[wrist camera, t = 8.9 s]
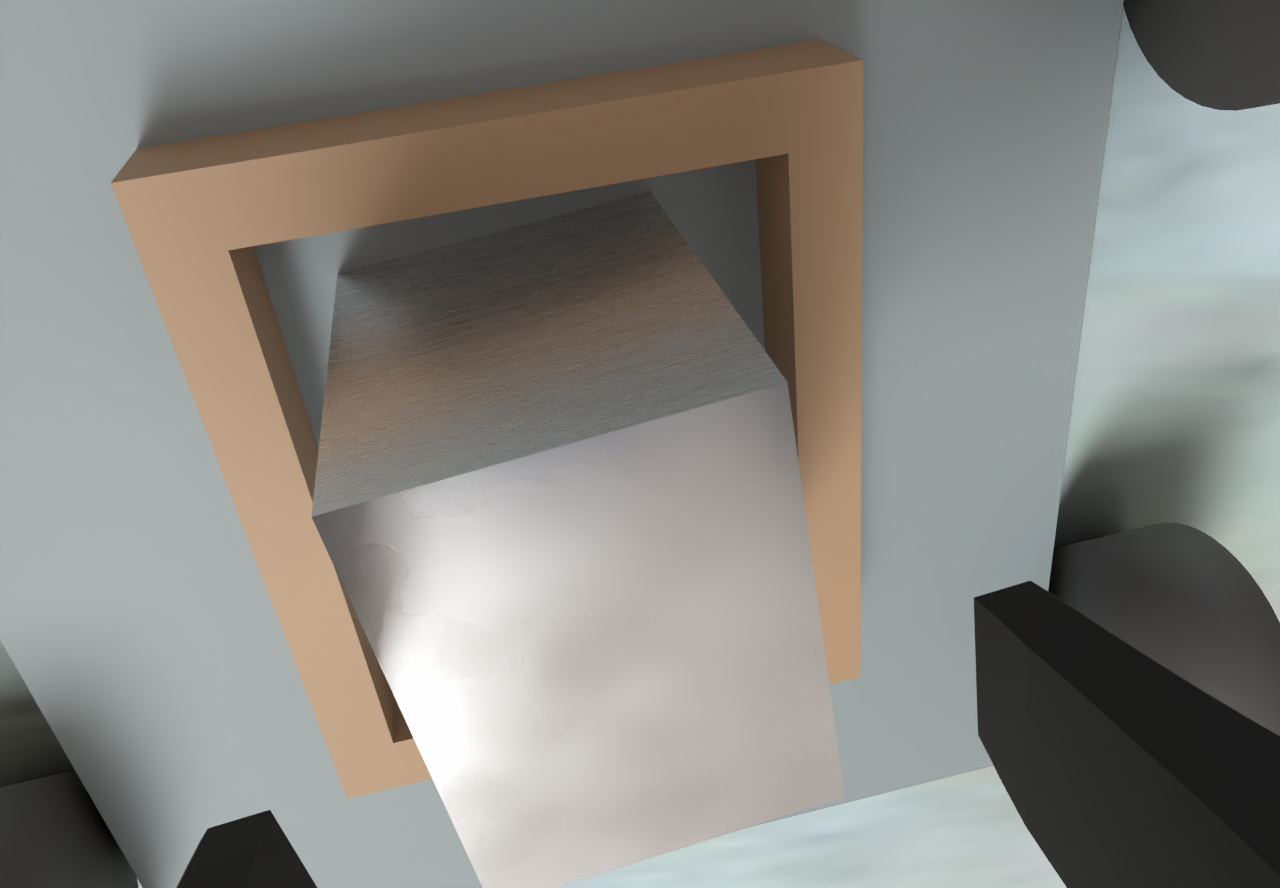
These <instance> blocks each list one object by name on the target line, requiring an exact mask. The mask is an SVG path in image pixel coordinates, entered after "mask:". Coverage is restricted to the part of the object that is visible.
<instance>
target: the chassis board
mask: <svg viewBox="0 0 1280 888" xmlns="http://www.w3.org/2000/svg"><path fill="white" fill-rule="evenodd" d="M1123 6H1124V9H1125V12H1126V15H1127V18H1128V21H1129V25H1130V27H1131V30H1132V32H1133V34H1134V36H1135V39H1136V41H1137V43H1138V45H1139V47H1140V49H1141V51H1142V52H1143V54H1144V56H1145V57H1146V59H1147V61H1148V62H1149V64H1150V65H1151V66H1152V68H1153V69H1154V70H1155V71H1156V73H1157V74H1158V75H1159V77H1160V78H1161V79H1163V80H1164V81H1165V82H1166V83H1167V84H1168V85H1169V86H1170V87H1171V88H1172V89H1173V90H1175V91H1176V92H1177V93H1179V94H1180V95H1182V96H1183V97H1185V98H1186V99H1188V100H1190V101H1193V102H1195V103H1197V104H1199V105H1201V106H1205V107H1210V108H1214V109H1218V110H1242V109H1249V108H1255V107H1261V106H1266V105H1272V104H1278V103H1280V0H0V641H1V643H2V645H3V646H4V648H5V650H6V651H7V653H8V655H9V657H10V658H11V660H12V662H13V664H14V665H15V667H16V669H17V670H18V672H19V674H20V676H21V677H22V679H23V681H24V683H25V684H26V686H27V688H28V690H29V691H30V693H31V695H32V696H33V698H34V700H35V702H36V703H37V705H38V707H39V709H40V710H41V712H42V714H43V715H44V717H45V719H46V721H47V722H48V724H49V726H50V728H51V729H52V731H53V733H54V734H55V736H56V738H57V740H58V741H59V743H60V745H61V747H62V748H63V750H64V752H65V754H66V755H67V757H68V759H69V760H70V762H71V764H72V766H73V767H74V769H75V771H76V773H75V772H64V773H60V774H56V775H51V776H47V777H42V778H38V779H34V780H29V781H25V782H20V783H16V784H12V785H7V786H3V787H0V888H138V882H137V878H138V880H139V882H140V883H141V885H142V887H143V888H176V887H177V885H178V883H179V881H180V879H181V877H182V875H183V873H184V871H185V869H186V867H187V865H188V863H189V862H190V860H191V858H192V856H193V854H194V852H195V850H196V848H197V846H198V844H199V842H200V840H201V839H202V837H203V835H204V834H205V832H206V830H207V829H208V828H211V827H214V826H217V825H221V824H224V823H227V822H231V821H234V820H237V819H241V818H244V817H247V816H251V815H254V814H257V813H261V812H264V811H267V810H270V811H271V812H272V814H273V815H274V817H275V819H276V820H277V822H278V824H279V825H280V827H281V829H282V830H283V832H284V834H285V835H286V837H287V838H288V840H289V842H290V843H291V845H292V847H293V848H294V850H295V852H296V853H297V855H298V857H299V858H300V860H301V861H302V863H303V865H304V866H305V868H306V870H307V871H308V873H309V875H310V876H311V878H312V880H313V881H314V883H315V884H316V886H317V888H482V885H481V883H480V881H479V879H478V877H477V875H476V872H475V870H474V868H473V866H472V864H471V862H470V859H469V857H468V855H467V853H466V851H465V849H464V846H463V844H462V842H461V840H460V838H459V836H458V833H457V831H456V829H455V827H454V825H453V823H452V820H451V818H450V816H449V814H448V812H447V810H446V807H445V805H444V803H443V801H442V799H441V797H440V794H439V792H438V790H437V788H436V786H435V784H434V781H433V779H432V777H431V775H430V773H429V771H428V768H427V766H426V764H425V762H424V760H423V758H422V755H421V753H420V751H419V749H418V747H417V745H416V742H415V740H414V738H413V736H412V734H411V732H410V729H409V727H408V725H407V723H406V721H405V719H404V716H403V714H402V712H401V710H400V708H399V706H398V703H397V701H396V699H395V697H394V695H393V693H392V690H391V688H390V686H389V684H388V682H387V680H386V677H385V675H384V673H383V671H382V669H381V667H380V664H379V662H378V660H377V658H376V656H375V654H374V651H373V649H372V647H371V645H370V643H369V641H368V638H367V636H366V634H365V632H364V630H363V628H362V625H361V623H360V621H359V619H358V617H357V615H356V612H355V610H354V608H353V606H352V604H351V602H350V599H349V597H348V595H347V593H346V591H345V589H344V586H343V584H342V582H341V580H340V578H339V576H338V573H337V571H336V569H335V567H334V565H333V563H332V560H331V558H330V556H329V554H328V552H327V550H326V547H325V545H324V543H323V541H322V539H321V537H320V534H319V532H318V530H317V528H316V526H315V524H314V521H313V519H312V517H311V516H312V507H313V497H314V488H315V479H316V469H317V460H318V450H319V441H320V432H321V422H322V413H323V404H324V394H325V385H326V376H327V366H328V357H329V348H330V338H331V329H332V320H333V310H334V301H335V292H336V282H337V274H340V273H344V272H347V271H351V270H355V269H359V268H362V267H366V266H370V265H374V264H377V263H381V262H385V261H389V260H392V259H396V258H400V257H404V256H407V255H411V254H415V253H419V252H422V251H426V250H430V249H434V248H437V247H441V246H445V245H449V244H453V243H456V242H460V241H464V240H468V239H471V238H475V237H479V236H483V235H486V234H490V233H494V232H498V231H501V230H505V229H509V228H513V227H516V226H520V225H524V224H528V223H531V222H535V221H539V220H543V219H546V218H550V217H554V216H558V215H561V214H565V213H569V212H573V211H576V210H580V209H584V208H588V207H591V206H595V205H599V204H603V203H606V202H610V201H614V200H618V199H621V198H625V197H629V196H633V195H636V194H640V193H644V192H648V191H650V192H651V193H652V195H653V196H654V197H655V199H656V200H657V202H658V203H659V204H660V206H661V207H662V208H663V210H664V211H665V213H666V214H667V215H668V217H669V218H670V220H671V221H672V222H673V224H674V225H675V227H676V228H677V229H678V231H679V232H680V233H681V235H682V236H683V238H684V239H685V240H686V242H687V243H688V245H689V246H690V247H691V249H692V250H693V252H694V253H695V254H696V256H697V257H698V258H699V260H700V261H701V263H702V264H703V265H704V267H705V268H706V270H707V271H708V272H709V274H710V275H711V277H712V278H713V279H714V281H715V282H716V283H717V285H718V286H719V288H720V289H721V290H722V292H723V293H724V295H725V296H726V297H727V299H728V300H729V302H730V303H731V304H732V306H733V307H734V308H735V310H736V311H737V313H738V314H739V315H740V317H741V318H742V320H743V321H744V322H745V324H746V325H747V327H748V328H749V329H750V331H751V332H752V333H753V335H754V336H755V338H756V339H757V340H758V342H759V343H760V345H761V346H762V347H763V349H764V350H765V352H766V353H767V354H768V356H769V357H770V358H771V360H772V361H773V363H774V364H775V365H776V367H777V368H778V370H779V371H780V372H781V374H782V375H783V377H784V378H785V379H786V381H787V382H788V389H789V396H790V404H791V411H792V418H793V425H794V433H795V440H796V447H797V454H798V461H799V469H800V476H801V483H802V490H803V498H804V505H805V512H806V519H807V526H808V534H809V541H810V548H811V555H812V563H813V570H814V577H815V584H816V591H817V599H818V606H819V613H820V620H821V628H822V635H823V642H824V649H825V656H826V664H827V671H828V678H829V685H830V693H831V700H832V707H833V714H834V721H835V729H836V736H837V743H838V750H839V758H840V765H841V772H842V779H843V786H844V794H845V797H843V798H839V799H836V800H833V801H830V802H827V803H823V804H820V805H817V806H814V807H811V808H808V809H804V810H801V811H798V812H795V813H792V814H788V815H785V816H782V817H779V818H776V819H772V820H769V821H766V822H763V823H760V824H764V823H768V822H772V821H776V820H780V819H784V818H788V817H792V816H796V815H800V814H804V813H807V812H811V811H815V810H819V809H823V808H827V807H831V806H835V805H839V804H843V803H847V802H851V801H855V800H859V799H863V798H867V797H871V796H875V795H879V794H883V793H887V792H891V791H895V790H899V789H903V788H907V787H911V786H915V785H919V784H923V783H926V782H930V781H934V780H938V779H942V778H946V777H950V776H954V775H958V774H962V773H966V772H970V771H974V770H978V769H982V768H986V767H990V766H994V765H993V763H992V761H991V759H990V757H989V755H988V753H987V751H986V749H985V747H984V745H983V744H982V742H981V740H980V738H979V736H978V718H977V686H976V655H975V623H974V597H977V596H981V595H984V594H987V593H991V592H994V591H997V590H1001V589H1004V588H1007V587H1011V586H1014V585H1017V584H1020V583H1024V582H1027V581H1032V582H1034V583H1035V584H1037V585H1039V586H1040V587H1042V588H1043V589H1045V590H1047V591H1048V592H1050V593H1051V594H1053V595H1054V596H1056V597H1057V598H1059V599H1061V600H1062V601H1064V602H1065V603H1067V604H1068V605H1070V606H1071V607H1073V608H1074V609H1076V610H1077V611H1079V612H1080V613H1082V614H1084V615H1085V616H1087V617H1088V618H1090V619H1091V620H1093V621H1094V622H1096V623H1097V624H1099V625H1100V626H1102V627H1103V628H1105V629H1106V630H1108V631H1110V632H1111V633H1113V634H1114V635H1116V636H1117V637H1119V638H1120V639H1122V640H1123V641H1125V642H1127V643H1128V644H1130V645H1131V646H1133V647H1134V648H1136V649H1137V650H1139V651H1141V652H1142V653H1144V654H1145V655H1147V656H1148V657H1150V658H1152V659H1153V660H1155V661H1156V662H1158V663H1159V664H1161V665H1163V666H1164V667H1166V668H1167V669H1169V670H1171V671H1172V672H1174V673H1175V674H1177V675H1179V676H1180V677H1182V678H1183V679H1185V680H1187V681H1188V682H1190V683H1191V684H1193V685H1195V686H1196V687H1198V688H1200V689H1201V690H1203V691H1205V692H1206V693H1208V694H1210V695H1211V696H1213V697H1215V698H1216V699H1218V700H1220V701H1221V702H1223V703H1225V704H1226V705H1228V706H1230V707H1231V708H1233V709H1235V710H1236V711H1238V712H1240V713H1241V714H1243V715H1245V716H1246V717H1248V718H1250V719H1251V720H1253V721H1255V722H1256V723H1258V724H1260V725H1262V726H1263V727H1265V728H1267V729H1269V730H1270V731H1272V732H1274V733H1275V734H1277V735H1279V736H1280V622H1279V620H1278V619H1277V617H1276V615H1275V613H1274V611H1273V609H1272V607H1271V605H1270V603H1269V602H1268V600H1267V598H1266V597H1265V595H1264V593H1263V592H1262V590H1261V589H1260V587H1259V586H1258V585H1257V583H1256V582H1255V580H1254V579H1253V578H1252V576H1251V575H1250V573H1249V572H1248V571H1247V570H1246V569H1245V568H1244V567H1243V565H1242V564H1241V563H1240V562H1239V561H1238V560H1237V559H1236V558H1235V557H1234V556H1233V555H1232V554H1231V553H1230V552H1229V551H1228V550H1227V549H1226V548H1225V547H1223V546H1222V545H1221V544H1220V543H1218V542H1217V541H1216V540H1214V539H1213V538H1212V537H1210V536H1208V535H1207V534H1205V533H1203V532H1201V531H1200V530H1197V529H1195V528H1192V527H1190V526H1187V525H1183V524H1179V523H1162V524H1156V525H1152V526H1147V527H1143V528H1139V529H1134V530H1130V531H1125V532H1121V533H1117V534H1112V535H1108V536H1103V537H1099V538H1095V539H1090V540H1086V541H1081V542H1077V543H1073V544H1068V545H1064V546H1060V547H1058V548H1056V549H1054V542H1055V534H1056V526H1057V518H1058V510H1059V503H1060V495H1061V487H1062V479H1063V471H1064V464H1065V456H1066V448H1067V440H1068V432H1069V424H1070V417H1071V409H1072V401H1073V393H1074V385H1075V378H1076V370H1077V362H1078V354H1079V346H1080V339H1081V331H1082V323H1083V315H1084V307H1085V299H1086V292H1087V284H1088V276H1089V268H1090V260H1091V253H1092V245H1093V237H1094V229H1095V221H1096V213H1097V206H1098V198H1099V190H1100V182H1101V174H1102V167H1103V159H1104V151H1105V143H1106V135H1107V128H1108V120H1109V112H1110V104H1111V96H1112V88H1113V81H1114V73H1115V65H1116V57H1117V49H1118V42H1119V34H1120V26H1121V18H1122V10H1123ZM760 824H757V825H760ZM753 826H756V825H753ZM750 827H752V826H750ZM747 828H748V827H747ZM136 876H137V877H136Z"/></svg>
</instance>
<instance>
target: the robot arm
mask: <svg viewBox="0 0 1280 888" xmlns="http://www.w3.org/2000/svg"><path fill="white" fill-rule="evenodd" d="M974 623H975V655H976V686H977V718H978V736H979V738H980V740H981V742H982V744H983V745H984V747H985V749H986V751H987V753H988V755H989V757H990V759H991V761H992V763H993V765H994V767H995V769H996V771H997V773H998V775H999V777H1000V779H1001V781H1002V783H1003V785H1004V787H1005V788H1006V790H1007V792H1008V794H1009V796H1010V798H1011V800H1012V801H1013V803H1014V805H1015V807H1016V809H1017V811H1018V813H1019V814H1020V816H1021V818H1022V820H1023V822H1024V824H1025V826H1026V827H1027V829H1028V830H1029V832H1030V833H1031V835H1032V836H1033V838H1034V839H1035V841H1036V842H1037V844H1038V845H1039V847H1040V848H1041V850H1042V851H1043V853H1044V854H1045V856H1046V857H1047V859H1048V860H1049V862H1050V863H1051V865H1052V866H1053V868H1054V869H1055V871H1056V872H1057V873H1058V875H1059V876H1060V878H1061V879H1062V881H1063V882H1064V884H1065V885H1066V887H1067V888H1280V736H1279V735H1277V734H1275V733H1274V732H1272V731H1270V730H1269V729H1267V728H1265V727H1263V726H1262V725H1260V724H1258V723H1256V722H1255V721H1253V720H1251V719H1250V718H1248V717H1246V716H1245V715H1243V714H1241V713H1240V712H1238V711H1236V710H1235V709H1233V708H1231V707H1230V706H1228V705H1226V704H1225V703H1223V702H1221V701H1220V700H1218V699H1216V698H1215V697H1213V696H1211V695H1210V694H1208V693H1206V692H1205V691H1203V690H1201V689H1200V688H1198V687H1196V686H1195V685H1193V684H1191V683H1190V682H1188V681H1187V680H1185V679H1183V678H1182V677H1180V676H1179V675H1177V674H1175V673H1174V672H1172V671H1171V670H1169V669H1167V668H1166V667H1164V666H1163V665H1161V664H1159V663H1158V662H1156V661H1155V660H1153V659H1152V658H1150V657H1148V656H1147V655H1145V654H1144V653H1142V652H1141V651H1139V650H1137V649H1136V648H1134V647H1133V646H1131V645H1130V644H1128V643H1127V642H1125V641H1123V640H1122V639H1120V638H1119V637H1117V636H1116V635H1114V634H1113V633H1111V632H1110V631H1108V630H1106V629H1105V628H1103V627H1102V626H1100V625H1099V624H1097V623H1096V622H1094V621H1093V620H1091V619H1090V618H1088V617H1087V616H1085V615H1084V614H1082V613H1080V612H1079V611H1077V610H1076V609H1074V608H1073V607H1071V606H1070V605H1068V604H1067V603H1065V602H1064V601H1062V600H1061V599H1059V598H1057V597H1056V596H1054V595H1053V594H1051V593H1050V592H1048V591H1047V590H1045V589H1043V588H1042V587H1040V586H1039V585H1037V584H1035V583H1034V582H1032V581H1027V582H1024V583H1020V584H1017V585H1014V586H1011V587H1007V588H1004V589H1001V590H997V591H994V592H991V593H987V594H984V595H981V596H977V597H974ZM176 888H317V886H316V884H315V883H314V881H313V880H312V878H311V876H310V875H309V873H308V871H307V870H306V868H305V866H304V865H303V863H302V861H301V860H300V858H299V857H298V855H297V853H296V852H295V850H294V848H293V847H292V845H291V843H290V842H289V840H288V838H287V837H286V835H285V834H284V832H283V830H282V829H281V827H280V825H279V824H278V822H277V820H276V819H275V817H274V815H273V814H272V812H271V811H270V810H267V811H264V812H261V813H257V814H254V815H251V816H247V817H244V818H241V819H237V820H234V821H231V822H227V823H224V824H221V825H217V826H214V827H211V828H208V829H207V830H206V832H205V834H204V835H203V837H202V839H201V840H200V842H199V844H198V846H197V848H196V850H195V852H194V854H193V856H192V858H191V860H190V862H189V863H188V865H187V867H186V869H185V871H184V873H183V875H182V877H181V879H180V881H179V883H178V885H177V887H176Z"/></svg>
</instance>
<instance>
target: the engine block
mask: <svg viewBox="0 0 1280 888" xmlns="http://www.w3.org/2000/svg"><path fill="white" fill-rule="evenodd" d="M311 517H312V519H313V521H314V524H315V526H316V528H317V530H318V532H319V534H320V537H321V539H322V541H323V543H324V545H325V547H326V550H327V552H328V554H329V556H330V558H331V560H332V563H333V565H334V567H335V569H336V571H337V573H338V576H339V578H340V580H341V582H342V584H343V586H344V589H345V591H346V593H347V595H348V597H349V599H350V602H351V604H352V606H353V608H354V610H355V612H356V615H357V617H358V619H359V621H360V623H361V625H362V628H363V630H364V632H365V634H366V636H367V638H368V641H369V643H370V645H371V647H372V649H373V651H374V654H375V656H376V658H377V660H378V662H379V664H380V667H381V669H382V671H383V673H384V675H385V677H386V680H387V682H388V684H389V686H390V688H391V690H392V693H393V695H394V697H395V699H396V701H397V703H398V706H399V708H400V710H401V712H402V714H403V716H404V719H405V721H406V723H407V725H408V727H409V729H410V732H411V734H412V736H413V738H414V740H415V742H416V745H417V747H418V749H419V751H420V753H421V755H422V758H423V760H424V762H425V764H426V766H427V768H428V771H429V773H430V775H431V777H432V779H433V781H434V784H435V786H436V788H437V790H438V792H439V794H440V797H441V799H442V801H443V803H444V805H445V807H446V810H447V812H448V814H449V816H450V818H451V820H452V823H453V825H454V827H455V829H456V831H457V833H458V836H459V838H460V840H461V842H462V844H463V846H464V849H465V851H466V853H467V855H468V857H469V859H470V862H471V864H472V866H473V868H474V870H475V872H476V875H477V877H478V879H479V881H480V883H481V885H482V888H556V887H559V886H562V885H566V884H569V883H572V882H575V881H578V880H582V879H585V878H588V877H591V876H594V875H597V874H601V873H604V872H607V871H610V870H613V869H617V868H620V867H623V866H626V865H629V864H632V863H636V862H639V861H642V860H645V859H648V858H652V857H655V856H658V855H661V854H664V853H667V852H671V851H674V850H677V849H680V848H683V847H687V846H690V845H693V844H696V843H699V842H702V841H706V840H709V839H712V838H715V837H718V836H722V835H725V834H728V833H731V832H734V831H737V830H741V829H744V828H747V827H750V826H753V825H757V824H760V823H763V822H766V821H769V820H772V819H776V818H779V817H782V816H785V815H788V814H792V813H795V812H798V811H801V810H804V809H808V808H811V807H814V806H817V805H820V804H823V803H827V802H830V801H833V800H836V799H839V798H843V797H845V794H844V786H843V779H842V772H841V765H840V758H839V750H838V743H837V736H836V729H835V721H834V714H833V707H832V700H831V693H830V685H829V678H828V671H827V664H826V656H825V649H824V642H823V635H822V628H821V620H820V613H819V606H818V599H817V591H816V584H815V577H814V570H813V563H812V555H811V548H810V541H809V534H808V526H807V519H806V512H805V505H804V498H803V490H802V483H801V476H800V469H799V461H798V454H797V447H796V440H795V433H794V425H793V418H792V411H791V404H790V396H789V389H788V382H787V381H786V379H785V378H784V377H783V375H782V374H781V372H780V371H779V370H778V368H777V367H776V365H775V364H774V363H773V361H772V360H771V358H770V357H769V356H768V354H767V353H766V352H765V350H764V349H763V347H762V346H761V345H760V343H759V342H758V340H757V339H756V338H755V336H754V335H753V333H752V332H751V331H750V329H749V328H748V327H747V325H746V324H745V322H744V321H743V320H742V318H741V317H740V315H739V314H738V313H737V311H736V310H735V308H734V307H733V306H732V304H731V303H730V302H729V300H728V299H727V297H726V296H725V295H724V293H723V292H722V290H721V289H720V288H719V286H718V285H717V283H716V282H715V281H714V279H713V278H712V277H711V275H710V274H709V272H708V271H707V270H706V268H705V267H704V265H703V264H702V263H701V261H700V260H699V258H698V257H697V256H696V254H695V253H694V252H693V250H692V249H691V247H690V246H689V245H688V243H687V242H686V240H685V239H684V238H683V236H682V235H681V233H680V232H679V231H678V229H677V228H676V227H675V225H674V224H673V222H672V221H671V220H670V218H669V217H668V215H667V214H666V213H665V211H664V210H663V208H662V207H661V206H660V204H659V203H658V202H657V200H656V199H655V197H654V196H653V195H652V193H651V192H650V191H648V192H644V193H640V194H636V195H633V196H629V197H625V198H621V199H618V200H614V201H610V202H606V203H603V204H599V205H595V206H591V207H588V208H584V209H580V210H576V211H573V212H569V213H565V214H561V215H558V216H554V217H550V218H546V219H543V220H539V221H535V222H531V223H528V224H524V225H520V226H516V227H513V228H509V229H505V230H501V231H498V232H494V233H490V234H486V235H483V236H479V237H475V238H471V239H468V240H464V241H460V242H456V243H453V244H449V245H445V246H441V247H437V248H434V249H430V250H426V251H422V252H419V253H415V254H411V255H407V256H404V257H400V258H396V259H392V260H389V261H385V262H381V263H377V264H374V265H370V266H366V267H362V268H359V269H355V270H351V271H347V272H344V273H340V274H337V282H336V292H335V301H334V310H333V320H332V329H331V338H330V348H329V357H328V366H327V376H326V385H325V394H324V404H323V413H322V422H321V432H320V441H319V450H318V460H317V469H316V479H315V488H314V497H313V507H312V516H311Z"/></svg>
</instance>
